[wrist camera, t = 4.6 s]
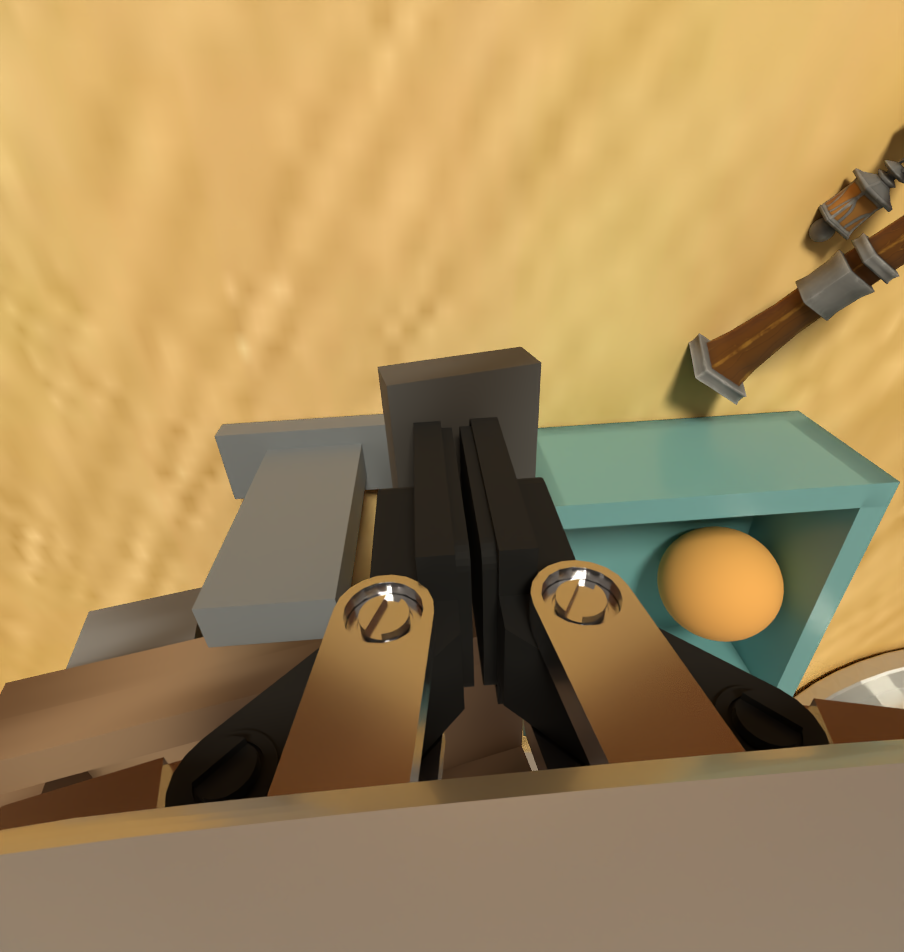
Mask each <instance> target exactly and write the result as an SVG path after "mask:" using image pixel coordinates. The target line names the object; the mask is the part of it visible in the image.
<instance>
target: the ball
mask: <svg viewBox="0 0 904 952" xmlns="http://www.w3.org/2000/svg"><path fill="white" fill-rule="evenodd" d="M657 584H658V590H659V594H660V598H661V600H662V602H663V604H664V606H665V608H666V610H667V611H668V612H669V614H670V615H671V616H672V617H673V618H674V620H675V621H676V622H677V623H679V624H680V625H681V626H682V627H683V628H685V629H686V630H688V631H689V632H691V633H693V634H695V635H697V636H700V637H702V638H705V639H709V640H714V641H723V642H730V641H738V640H743V639H746V638H749V637H752V636H754V635H756V634H758V633H759V632H761V631H762V630H764V629H765V628H766V627H767V626H768V625H769V624H770V623H771V622H772V621H773V620H774V618H775V617H776V615H777V614H778V612H779V610H780V607H781V605H782V600H783V595H784V584H783V578H782V574H781V571H780V568H779V566H778V564H777V562H776V560H775V559H774V557H773V556H772V554H771V553H770V552H769V550H768V549H767V548H766V547H765V546H764V545H762V544H761V543H760V542H759V541H757V540H756V539H754V538H753V537H751V536H750V535H748V534H746V533H743V532H741V531H738V530H735V529H731V528H727V527H719V526H711V527H703V528H698V529H695V530H692V531H689V532H687V533H685V534H683V535H682V536H680V537H679V538H678V539H676V540H675V541H674V542H673V543H672V544H671V545H670V546H669V547H668V548H667V550H666V551H665V553H664V554H663V556H662V558H661V561H660V564H659V567H658V573H657Z"/></svg>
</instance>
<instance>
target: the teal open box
mask: <svg viewBox="0 0 904 952" xmlns="http://www.w3.org/2000/svg"><path fill="white" fill-rule="evenodd" d="M535 477H542V478H543V479H544V481H545V483H546V486H547V488H548V491H549V493H550V496H551V498H552V501H553V503H554V506H555V508H556V511H557V513H558V516H559V518H560V521H561V524H562V526H563V529H564V531H565V534H566V536H567V539H568V541H569V544H570V546H571V549H572V551H573V554H574V556H575V559H576V560H579V561H587V562H592V563H595V564H598V565H601V566H604V567H606V568H608V569H609V570H611V571H613V572H614V573H616V574H618V575H619V576H620V577H621V578H622V579H623V580H624V581H625V582H626V584H627V585H628V586H629V587H630V589H631V590H632V591H633V593H634V594H635V596H636V597H637V599H638V600H639V601H640V603H641V604H642V606H643V607H644V608H645V610H646V611H647V613H648V614H649V615H650V617H651V618H652V620H653V621H654V622H655V624H656V625H657V627H659V628H661V629H663V630H665V631H667V632H669V633H670V634H672V635H674V636H676V637H678V638H680V639H682V640H684V641H686V642H688V643H690V644H692V645H694V646H696V647H698V648H700V649H702V650H704V651H706V652H708V653H710V654H712V655H714V656H716V657H718V658H720V659H722V660H724V661H726V662H728V663H730V664H732V665H734V666H736V667H738V668H740V669H742V670H744V671H746V672H747V673H749V674H751V675H753V676H755V677H757V678H759V679H761V680H763V681H765V682H767V683H769V684H771V685H773V686H775V687H777V688H779V689H781V690H782V691H784V692H785V693H787V694H789V695H790V696H792V697H793V695H794V693H795V691H796V689H797V687H798V685H799V683H800V681H801V679H802V677H803V675H804V673H805V671H806V669H807V667H808V665H809V663H810V661H811V659H812V657H813V655H814V653H815V651H816V649H817V647H818V645H819V643H820V641H821V639H822V637H823V635H824V633H825V631H826V629H827V627H828V625H829V623H830V621H831V619H832V617H833V615H834V613H835V611H836V609H837V607H838V605H839V603H840V601H841V599H842V597H843V595H844V593H845V591H846V589H847V587H848V585H849V583H850V581H851V579H852V577H853V575H854V573H855V571H856V569H857V567H858V565H859V563H860V561H861V559H862V557H863V555H864V553H865V551H866V549H867V547H868V545H869V543H870V541H871V539H872V537H873V535H874V533H875V531H876V529H877V527H878V525H879V523H880V521H881V519H882V517H883V515H884V513H885V511H886V509H887V507H888V505H889V503H890V501H891V499H892V497H893V495H894V493H895V491H896V489H897V487H898V485H899V483H900V482H899V481H898V480H896V479H895V478H894V477H892V476H891V475H889V474H888V473H886V472H885V471H884V470H882V469H881V468H879V467H878V466H876V465H875V464H874V463H872V462H871V461H869V460H868V459H866V458H865V457H864V456H862V455H861V454H859V453H858V452H856V451H855V450H854V449H852V448H851V447H849V446H848V445H846V444H845V443H844V442H842V441H841V440H839V439H838V438H836V437H835V436H834V435H832V434H831V433H829V432H828V431H826V430H825V429H824V428H822V427H821V426H819V425H818V424H816V423H815V422H814V421H812V420H811V419H809V418H808V417H806V416H805V415H804V414H802V413H801V412H799V411H787V412H772V413H757V414H742V415H727V416H712V417H697V418H682V419H667V420H652V421H637V422H622V423H607V424H592V425H577V426H562V427H547V428H538V435H537V454H536V474H535ZM711 526H719V527H727V528H731V529H735V530H738V531H741V532H743V533H746V534H748V535H750V536H751V537H753V538H754V539H756V540H757V541H759V542H760V543H761V544H762V545H764V546H765V547H766V548H767V549H768V550H769V552H770V553H771V554H772V556H773V557H774V559H775V560H776V562H777V564H778V566H779V568H780V571H781V574H782V578H783V584H784V595H783V600H782V605H781V607H780V610H779V612H778V614H777V615H776V617H775V618H774V620H773V621H772V622H771V623H770V624H769V625H768V626H767V627H766V628H765V629H764V630H762V631H761V632H759V633H758V634H756V635H754V636H752V637H749V638H746V639H743V640H738V641H730V642H723V641H714V640H709V639H705V638H702V637H700V636H697V635H695V634H693V633H691V632H689V631H688V630H686V629H685V628H683V627H682V626H681V625H680V624H679V623H677V622H676V621H675V620H674V618H673V617H672V616H671V615H670V614H669V612H668V611H667V610H666V608H665V606H664V604H663V602H662V600H661V598H660V594H659V590H658V584H657V573H658V567H659V564H660V561H661V558H662V556H663V554H664V553H665V551H666V550H667V548H668V547H669V546H670V545H671V544H672V543H673V542H674V541H675V540H676V539H678V538H679V537H680V536H682V535H683V534H685V533H687V532H689V531H692V530H695V529H698V528H703V527H711ZM523 722H524V720H523ZM522 730H523V735H524V736H526V734H525V728H524V723H523V726H522Z"/></svg>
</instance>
